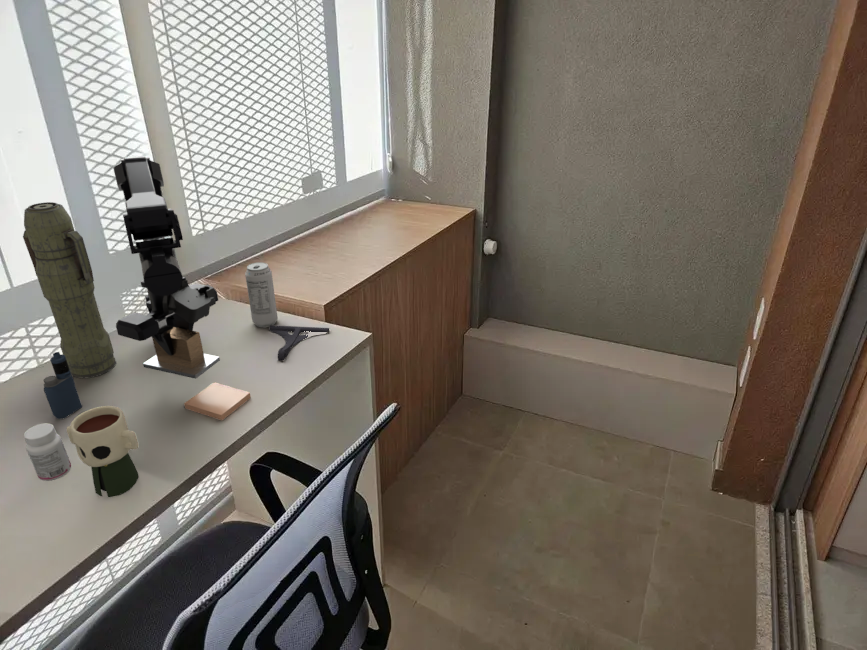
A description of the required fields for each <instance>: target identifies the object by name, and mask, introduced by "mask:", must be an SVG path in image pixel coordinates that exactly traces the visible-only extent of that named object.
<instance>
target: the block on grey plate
mask: <svg viewBox="0 0 867 650" xmlns="http://www.w3.org/2000/svg"><path fill="white" fill-rule="evenodd" d="M170 336H171V340H172V345H173V351H174V355H172V356H171V355H168V354H167V353H166V352H165V350H164V349H163V348H162V347H161V346H160V345H159V344H158V343H157V341H156V340H155V339H154V338H153V337H151V338H152V343H153V347H154V350H155V355H153V356H152V357H151V358H149V359H148V360H146V361H144V362H143V363H142V365H143V368H146V369H151V370H155V371H160V372H164V373H169V374H173V375H177V376H181V377H185V378H191V379H195V380H196V379H198V378H199V377H200V376H201V375H203V374H205V373H206V372H207V371H208V370H209V369H211V368H212V367H214V366H215V365H216V364H217V363H219V362H220V361H221V358H220V356H217V355H213V354H208V353H204V349H203V343H202V339H201V335H200V332H199V331H196V330H193V331H191V330H186V329H181V328H176V327H173V329H172V330H171V331H170Z"/></svg>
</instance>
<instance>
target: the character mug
mask: <svg viewBox="0 0 867 650" xmlns="http://www.w3.org/2000/svg"><path fill="white" fill-rule="evenodd" d="M66 433H67V436H68V439H69V442H70V444H72V445H75V447H76V448H75V449H76V452H77V455H78V457H79V459H80V460H81V461H82V462H83V464H85V465H86V466H88V467H90V468H91V475H92V482H93V486H94V491H95V494H97V495H98V496H100V497H103V493H102V491H103V492H105V493H106V496H107V498H113V497H118V496H122V495H123V494H125V493H127V492H129V491H130V490H131V489H132V488H133V487H134V486H135V484H137V482H138V480H139V478H140V475H139V472H138V470H137V468H136V467H137V466H135V463H134V461H133V459H132V457H131V456H130V453H129V452H130V450H133V451H135V450H137V449H139V445H140V444H139V441H138V437H137V435H136V432H135V431H133V430H129V425H128V424H127V420H126V417H125V413H124V411H123V410H122V409H121V408H120V407H117V406H114V405H102V406H98V407H92V408H91V409H87V410H86V411H83V412H82V413H79V415H77V416H75V417H74V418H73V419H72V421H71V422H70V425H69V426H66Z"/></svg>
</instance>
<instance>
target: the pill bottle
mask: <svg viewBox="0 0 867 650" xmlns="http://www.w3.org/2000/svg"><path fill="white" fill-rule="evenodd" d="M23 437H24V440H25V443H26V447H25V449H26V452H27V454H28V457H29V460H30V461H31V464H32V466H33V468H34V471H35V473H36V475H37V478H38V479H39V480H40V481H43V482H50V481H51V482H53V481H56V480H58V479H61V478H63V477H64V476H65V475H67V474H68V473H69V472H70V471H71V469H72V463H71V459H70V458H69V454H68V453H67V450H66V448H65V445H64V441H63V439H62V437H61V435H60V434H58V433H57V431H56V428H55V427H54V425H53V424H52V423H45V422H43V423H38V424H35V425H34V426H31V427H30V428H28V429H27V430H26V431H25V432H24V434H23Z"/></svg>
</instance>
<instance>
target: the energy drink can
mask: <svg viewBox="0 0 867 650" xmlns="http://www.w3.org/2000/svg"><path fill="white" fill-rule="evenodd" d="M244 274H245V276H244V277H245V282H246V289H247V293H248V296H247V297H248V301H249V307H250V315H251V320H252V323H253V324H255V326H256V327H257V328H269V326H270V325H275V324H276V322H277V321H278V319H279V318H278V309H277V301H276V295H275V287H274V280H273V273H272V270H271V268H270V267H269V264H268V263H267V262H260V261H259V262H253V263H252V262H251V263H249V264H248V265H247V266H246V271H245V273H244Z"/></svg>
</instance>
